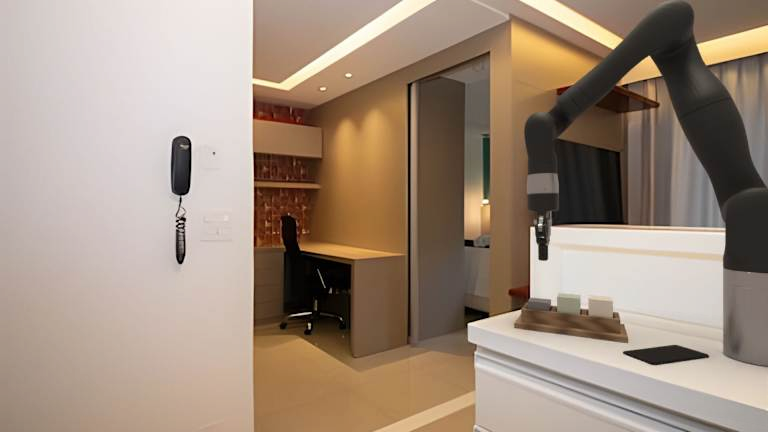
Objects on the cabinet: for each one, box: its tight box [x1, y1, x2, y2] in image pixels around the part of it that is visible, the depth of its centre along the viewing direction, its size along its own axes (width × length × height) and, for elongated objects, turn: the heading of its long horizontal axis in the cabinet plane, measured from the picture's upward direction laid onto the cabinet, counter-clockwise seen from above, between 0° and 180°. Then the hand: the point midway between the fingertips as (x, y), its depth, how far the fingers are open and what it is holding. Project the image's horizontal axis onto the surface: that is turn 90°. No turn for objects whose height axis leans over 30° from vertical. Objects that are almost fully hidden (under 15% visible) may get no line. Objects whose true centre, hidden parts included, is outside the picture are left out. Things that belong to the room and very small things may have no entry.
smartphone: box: [622, 344, 710, 366], centre depth 77 cm, size 7×1×15 cm
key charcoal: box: [527, 297, 552, 311], centre depth 99 cm, size 5×5×5 cm
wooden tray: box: [513, 302, 629, 344], centre depth 95 cm, size 24×12×4 cm, turn 61°
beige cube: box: [587, 294, 614, 318], centre depth 92 cm, size 5×5×5 cm
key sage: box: [556, 292, 582, 314], centre depth 95 cm, size 5×5×5 cm
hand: (543, 260), depth 98 cm, fingers closed
